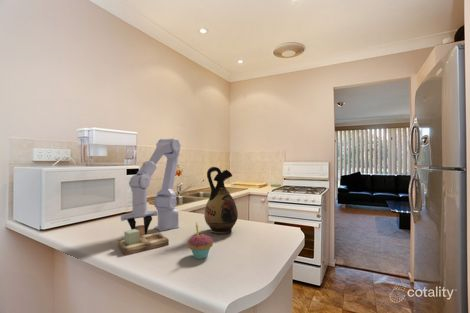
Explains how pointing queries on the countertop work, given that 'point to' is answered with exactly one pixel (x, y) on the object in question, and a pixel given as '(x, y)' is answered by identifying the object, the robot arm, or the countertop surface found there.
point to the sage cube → (131, 237)
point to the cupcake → (200, 245)
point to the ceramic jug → (220, 204)
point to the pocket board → (144, 243)
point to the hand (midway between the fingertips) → (139, 234)
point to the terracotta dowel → (141, 229)
